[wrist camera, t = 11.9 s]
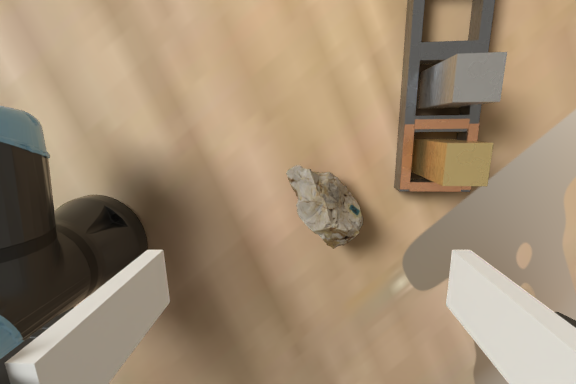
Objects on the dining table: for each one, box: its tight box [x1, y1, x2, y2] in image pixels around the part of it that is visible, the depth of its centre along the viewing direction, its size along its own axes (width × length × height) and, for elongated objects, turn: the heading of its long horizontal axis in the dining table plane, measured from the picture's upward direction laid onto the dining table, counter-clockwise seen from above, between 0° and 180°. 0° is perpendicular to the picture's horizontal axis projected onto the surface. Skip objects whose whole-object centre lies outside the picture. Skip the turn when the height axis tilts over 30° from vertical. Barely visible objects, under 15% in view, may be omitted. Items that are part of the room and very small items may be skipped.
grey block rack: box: [394, 0, 495, 192], centre depth 36 cm, size 9×26×3 cm, turn 1°
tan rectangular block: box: [411, 139, 493, 186], centre depth 35 cm, size 4×4×10 cm
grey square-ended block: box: [417, 52, 507, 109], centre depth 33 cm, size 4×4×10 cm
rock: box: [286, 165, 363, 249], centre depth 39 cm, size 12×7×10 cm, turn 30°
